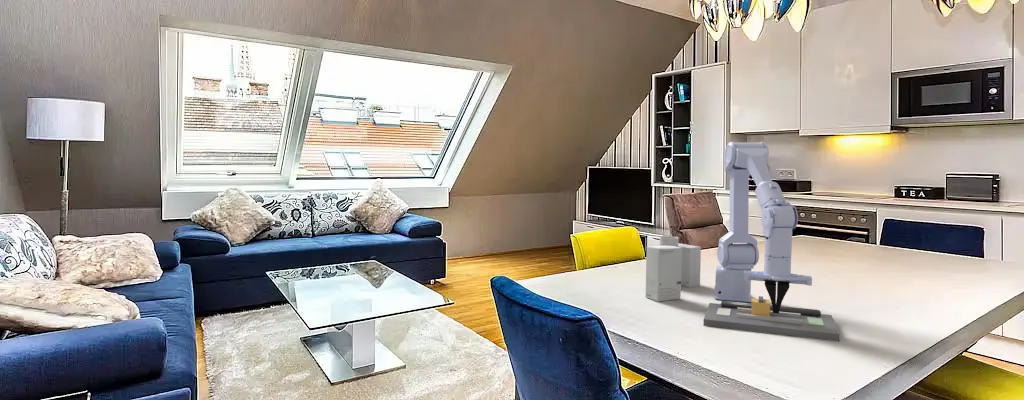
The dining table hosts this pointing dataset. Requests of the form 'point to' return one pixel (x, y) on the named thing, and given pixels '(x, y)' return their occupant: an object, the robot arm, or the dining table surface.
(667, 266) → the skincare box
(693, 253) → the white box
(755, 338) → the dining table surface
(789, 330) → the grey base plate
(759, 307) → the switch
